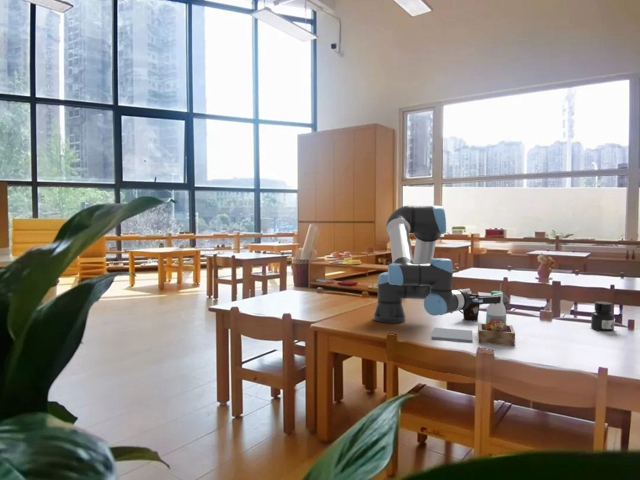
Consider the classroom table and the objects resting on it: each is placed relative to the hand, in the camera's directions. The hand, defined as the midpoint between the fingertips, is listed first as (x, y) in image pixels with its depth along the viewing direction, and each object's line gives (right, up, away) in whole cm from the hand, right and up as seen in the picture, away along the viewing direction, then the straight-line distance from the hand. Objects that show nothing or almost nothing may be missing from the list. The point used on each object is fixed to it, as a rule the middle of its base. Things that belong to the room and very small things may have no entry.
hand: (485, 294), depth 184 cm
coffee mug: (+7, -18, +45) cm, 48 cm away
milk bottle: (+7, -20, +8) cm, 23 cm away
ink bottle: (+62, -19, +27) cm, 71 cm away
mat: (-9, -19, +14) cm, 25 cm away
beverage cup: (+17, -19, +31) cm, 40 cm away
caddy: (+7, -20, +8) cm, 22 cm away
